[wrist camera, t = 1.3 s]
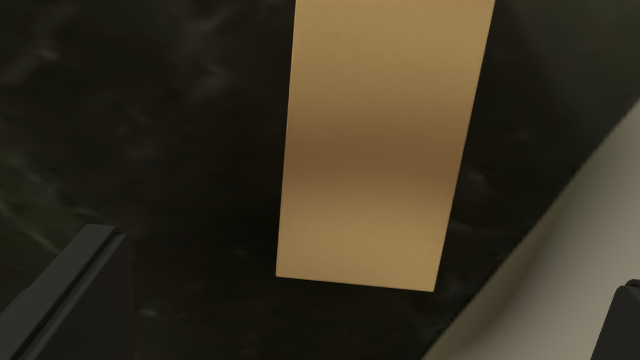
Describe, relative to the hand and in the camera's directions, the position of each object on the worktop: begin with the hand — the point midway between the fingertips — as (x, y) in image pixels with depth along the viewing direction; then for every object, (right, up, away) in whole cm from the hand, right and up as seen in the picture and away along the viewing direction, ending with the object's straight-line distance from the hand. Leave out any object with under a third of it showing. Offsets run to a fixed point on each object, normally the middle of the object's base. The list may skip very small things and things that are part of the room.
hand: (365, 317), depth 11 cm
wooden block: (+1, +6, +12) cm, 14 cm away
